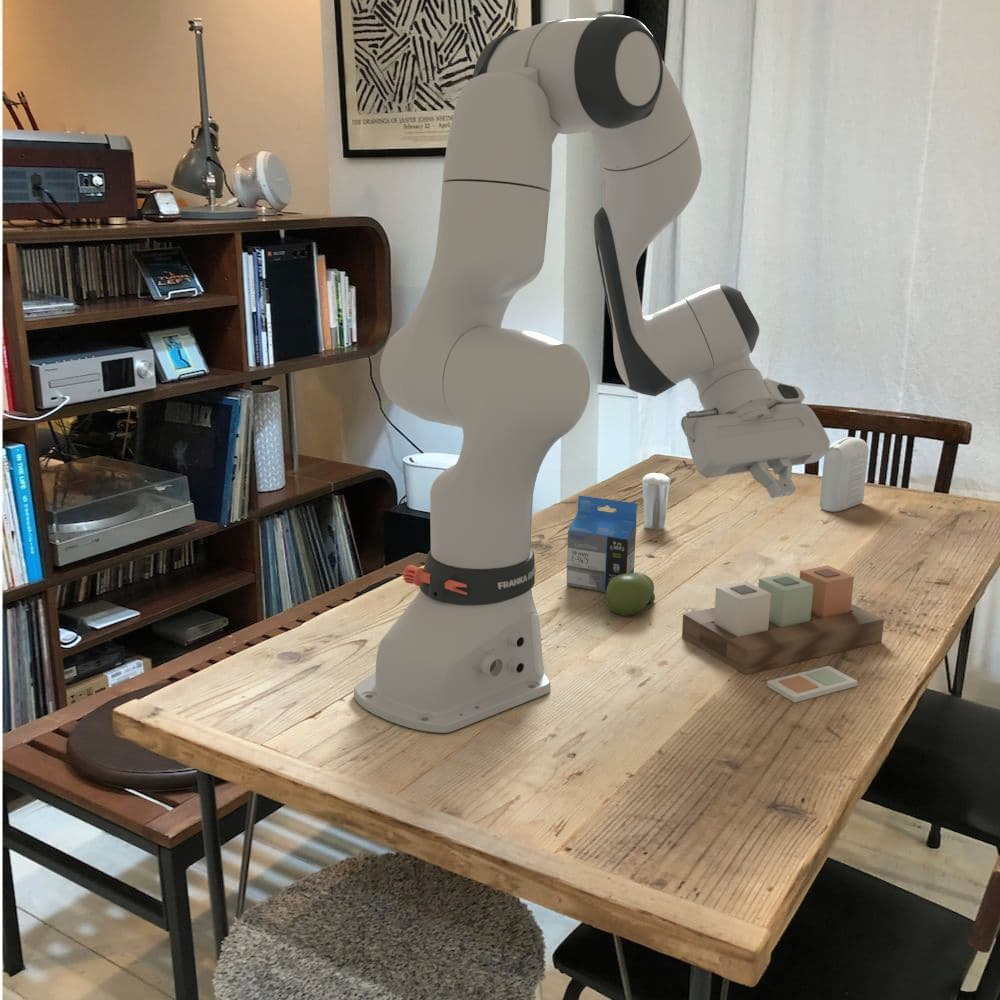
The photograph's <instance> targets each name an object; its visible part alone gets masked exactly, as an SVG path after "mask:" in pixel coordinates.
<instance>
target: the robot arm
mask: <svg viewBox="0 0 1000 1000" xmlns="http://www.w3.org/2000/svg"><path fill="white" fill-rule="evenodd" d="M456 100H457V101H456V103H455V106H454V112H453V115H452V120H451V124H450V127H449V133H448V138H447V143H446V149H445V156H444V163H443V172H442V186H441V197H440V210H439V221H438V227H437V228H438V229H437V238H436V239H437V240H436V245H435V246H436V247H435V254H434V260H433V263H432V269H431V272H430V273H429V278H428V281H427V284H426V286H425V289H424V292H423V294H422V296H421V298H420V301H419V302H418V304H417V306H416V308H415V309H414V311H413V313H412V315H411V317H409V319H408V321H407V322H406V323H405V324H404V325H403V326H402V327H401V328H399V329H398V330H397V331H396V332H395V333H393V335H392V336H391V337H390V338H389V340H388V341H387V342H386V345H385V346H384V348H383V352H382V354H381V358H380V363H379V364H380V365H379V376H380V381H381V385H382V389H383V391H384V393H385V395H386V397H387V398H388V399H389V401H391V402H392V403H393V404H394V405H396V406H397V407H398V408H400V409H402V410H404V411H407V412H408V413H409V414H412V415H414V416H415V417H418V418H419V419H421V420H425V421H427V422H432V423H438V424H440V425H441V424H443V425H446V426H447V425H448V426H452V427H458V428H461V429H462V433H463V440H462V445H461V449H460V452H459V457H458V460H457V462H456V463H455V464H453V465H451V466H450V467H448V468H446V469H445V470H443V471H442V472H441V473H440V474H439V475H438V476H437V477H436V478H435V480H434V481H433V483H432V485H431V487H430V492H429V503H430V504H429V508H430V509H429V510H430V513H429V514H430V515H429V516H430V517H429V518H430V519H429V521H430V523H429V524H430V550H429V551H428V552H427V555H426V559H425V562H424V567H418V566H416V565H413V564H408V565H407V566H405V568H404V570H403V571H402V574H403V575H402V579H403V581H404V583H406V584H411V585H412V584H414V585H415V586H416V587H419V589H420V590H419V591H418V593H417V594H416V596H415V597H414V598H413V600H412V601H411V602H410V603H409V604H408V605H407V606H406V608H405V610H404V611H403V612H402V613H401V615H400V616H399V618H398V619H397V620H396V621H395V622H394V624H393V625H392V626H391V627H390V629H388V631H387V632H386V634H385V635H384V636H383V637H382V639H381V640H380V642H379V645H378V648H377V652H376V653H377V654H376V659H375V660H376V661H375V671H374V672H373V673H372V674H370V675H369V676H367V677H366V678H364V679H363V680H362V681H360V682H359V683H358V684H357V685H355V686H354V687H353V697H354V699H355V701H356V702H357V704H359V705H360V706H361V707H362V708H364V709H365V710H366V711H368V712H369V713H371V714H373V715H374V716H377V717H380V718H381V719H384V720H385V721H388V722H391V723H394V724H396V725H398V726H403V727H405V728H410V729H413V730H415V731H416V730H418V731H423V732H430V733H445V734H447V733H450V732H454V731H457V730H460V729H461V728H464V727H466V726H469V725H471V724H475V723H478V722H479V721H482V720H484V719H487V718H489V717H492V716H494V715H497V714H500V713H502V712H505V711H507V710H509V709H511V708H512V709H513V708H515V707H517V706H520V705H522V704H525V703H526V702H529V701H532V700H534V699H537V698H539V697H542V696H544V695H547V694H549V693H550V691H551V690H552V689H551V681H550V678H549V677H548V675H547V674H545V667H544V659H543V647H542V646H543V645H542V635H541V626H540V625H541V623H540V617H539V614H538V612H537V611H538V610H537V609H536V605H535V602H534V598H533V593H532V592H533V591H532V588H533V587H534V585H535V581H536V580H535V579H536V577H535V575H536V570H537V569H536V567H537V566H536V564H535V562H536V561H535V552H534V551H533V549H531V548H532V521H533V502H534V492H535V486H536V481H537V478H538V474H539V472H540V468H541V466H542V464H543V461H544V460H545V458H546V456H547V455H548V452H549V451H550V450H551V448H553V446H554V445H555V443H556V442H557V441H558V440H559V439H561V438H562V437H564V436H566V434H569V432H571V430H573V429H574V427H575V426H577V424H578V423H579V421H580V420H581V418H582V417H583V415H584V413H585V411H586V409H587V406H588V402H589V397H590V387H591V385H590V384H591V383H590V375H589V371H588V368H587V367H588V366H587V364H586V362H585V360H584V358H583V356H582V355H581V353H580V352H579V351H578V349H576V348H575V347H574V346H572V345H570V344H569V343H565V342H563V341H561V340H558V339H556V338H555V337H551V336H548V335H546V334H543V333H541V332H540V333H539V332H537V331H532V330H531V331H530V330H522V329H513V328H502V322H503V320H504V317H505V314H506V311H507V308H508V306H509V305H510V302H511V301H512V299H513V298H514V296H515V295H516V294H517V292H519V291H520V290H521V289H523V288H524V287H526V286H527V285H529V284H530V283H531V282H533V281H534V280H535V279H536V278H537V277H538V275H539V274H540V272H541V271H542V268H543V266H544V262H545V253H546V243H547V232H548V223H549V222H548V221H549V211H550V200H551V190H552V189H551V188H552V174H553V171H552V170H553V145H554V142H555V140H556V138H557V136H558V134H561V135H573V134H580V133H587V132H590V133H591V138H592V141H593V144H594V147H595V151H596V153H597V155H598V160H599V162H600V165H601V167H602V170H603V175H604V183H605V187H604V188H605V189H604V196H603V202H602V205H601V206H600V207H599V209H598V210H597V212H596V213H595V215H594V219H593V220H594V221H593V232H594V233H593V234H594V241H595V242H594V243H595V247H596V249H595V250H596V255H597V259H598V265H599V271H600V275H601V281H602V287H603V292H604V297H605V302H606V306H607V311H608V312H607V313H608V316H609V321H610V328H611V336H612V343H613V345H612V346H613V349H612V350H613V358H614V363H615V366H616V367H615V368H616V369H617V372H618V374H619V377H620V379H621V380H622V382H623V383H624V384H625V385H626V386H627V388H628V389H629V391H632V392H635V393H638V394H641V395H645V396H651V397H657V396H658V395H661V394H662V393H664V392H666V391H667V390H669V389H671V388H673V387H675V386H676V385H677V384H679V383H681V382H683V381H685V380H688V379H689V380H690V382H691V383H692V384H693V385H694V386H695V387H696V389H697V391H698V392H697V393H698V398H699V403H700V404H701V406H702V408H703V410H699V411H698V410H692V411H688V412H686V413H685V415H683V417H682V418H681V421H680V426H681V429H682V431H683V433H684V436H685V437H686V439H687V445H688V449H689V452H690V455H691V458H692V461H693V463H694V466H695V469H696V471H697V472H698V473H699V474H700V475H701V476H702V477H704V478H706V479H709V478H715V477H716V478H717V477H724V476H730V475H738V474H743V473H750V474H751V476H752V479H754V480H755V481H757V483H758V484H760V485H761V486H763V487H764V488H765V489H766V491H767V492H768V494H769V496H770V498H771V499H776V498H780V497H788V496H791V495H793V494H794V493H795V492H796V486H795V484H794V482H793V480H792V471H793V466H800V465H801V466H802V465H808V464H813V463H815V464H816V463H817V462H819V461H820V459H822V458H823V457H824V455H825V454H826V453H827V452H828V451H829V447H830V446H831V441H830V439H829V436H828V434H827V432H826V430H825V429H824V427H823V425H822V424H821V422H820V419H819V418H818V417H817V415H816V413H815V411H814V410H812V408H810V406H809V405H807V404H805V403H803V401H804V400H805V397H806V396H805V394H804V392H803V390H802V389H801V388H800V387H798V386H796V385H792V384H787V383H782V382H778V381H775V380H773V379H770V378H766V377H764V376H763V374H762V372H761V371H760V370H759V369H758V368H757V367H756V366H755V365H754V363H753V362H752V361H751V357H750V354H752V352H753V351H754V350H755V347H756V343H757V341H758V339H759V336H760V326H759V323H758V322H757V320H756V317H755V316H754V314H753V312H752V311H751V309H750V306H749V305H748V304H747V301H746V300H745V298H744V296H743V293H742V291H740V290H738V289H736V288H734V287H731V286H729V285H727V284H723V283H722V284H721V283H718V284H715V285H712V286H708V287H707V288H706V287H705V288H704V289H702V290H699V291H698V292H696V293H692V294H691V295H688V296H687V297H685V298H683V299H682V300H679V301H678V302H675V303H673V304H670V305H669V306H667V307H664V308H662V309H659V310H658V311H655V312H653V313H651V314H647V315H644V314H643V310H642V303H641V299H640V291H639V287H638V280H637V273H636V272H637V265H638V262H639V260H640V258H641V256H642V255H643V253H644V252H645V250H646V249H647V248H648V247H649V246H650V244H651V243H652V242H653V241H654V240H655V239H656V238H657V236H658V235H660V234H661V232H662V231H663V230H664V229H665V228H666V227H668V226H669V225H670V224H671V223H672V222H673V221H674V220H675V219H677V218H678V217H679V216H680V215H681V214H682V213H683V211H684V210H685V209H686V207H687V206H688V205H689V204H690V202H691V200H692V198H693V197H694V195H695V193H696V191H697V189H698V186H699V183H700V180H701V175H702V160H701V156H700V155H701V154H700V149H699V146H698V141H697V137H696V134H695V131H694V130H695V129H694V128H693V125H692V121H691V118H690V116H689V113H688V110H687V107H686V106H685V103H684V100H683V97H682V96H681V93H680V91H679V89H678V86H677V84H676V82H675V80H674V78H673V76H672V75H671V72H670V71H669V69H668V67H667V65H666V64H665V62H664V60H663V58H662V53H661V50H660V46H659V44H658V42H657V41H656V39H655V37H654V35H653V34H652V33H651V31H650V30H649V29H648V28H647V26H646V25H645V24H643V22H641V20H638V19H636V18H635V17H630V16H626V15H621V14H602V15H600V16H597V17H595V18H594V17H591V18H590V17H589V18H587V17H585V18H576V19H575V18H574V19H554V20H550V21H546V22H542V23H538V24H534V25H531V26H528V27H525V28H523V29H512V30H509V31H507V32H505V33H502V34H501V35H498V36H497V37H495V38H494V39H493V40H491V41H490V42H488V43H487V44H486V46H485V47H484V48H483V49H482V51H480V54H479V56H478V57H477V61H476V62H475V66H474V69H473V73H472V78H471V79H469V80H468V81H467V82H466V83H465V84H464V86H463V87H462V88H461V89H460V92H459V94H458V97H457V99H456ZM770 469H771V470H772V471H773V473H774V474H775V475H778V478H776V477H775V476H774V475H773V474H772V473H771V472H770V471H769V470H770Z"/></svg>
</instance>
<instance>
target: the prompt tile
mask: <svg viewBox="0 0 1000 1000" xmlns="http://www.w3.org/2000/svg"><path fill="white" fill-rule="evenodd" d="M857 686H858V680H856V679H854V678H852V677H851V676H849V675H848V674H845V673H843V672H841V671H840V670H838V669H835V668H834V667H832V666H830V665H826V666H823V667H818V668H814V669H811V670H807V671H802V672H798V673H795V674H789V675H787V676H781V677H778V678H774V679H771V680H767V681H766V687H768V688H770V689H771V690H772V691H774V692H776V693H778V694H779V695H781V696H783V697H784V698H786V699H787V700H790V702H793V703H798V702H802V701H806V700H810V699H813V698H816V697H820V696H824V695H827V694H833V693H835V692H839V691H843V690H846V689H847V690H848V689H850V688H854V687H857Z"/></svg>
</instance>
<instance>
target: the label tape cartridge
mask: <svg viewBox="0 0 1000 1000" xmlns="http://www.w3.org/2000/svg"><path fill="white" fill-rule="evenodd" d="M577 497H578V498H577V499H578V500H577V502H578V503H577V513H575V516H574V518H573V520H572V522H571V525H570V526H569V528H568V530H567V548H566V550H567V551H566V552H567V553H566V556H567V557H566V586H567V587H573V588H577V589H578V588H579V589H584V590H590V591H596V592H600V593H601V592H602V593H606V589H607V586H608V584H609V582H610V581H611V580H612V579H613V578H614V577H615V576H617V575H620V574H624V573H635V562H636V561H635V560H636V559H635V557H636V556H635V555H636V537H637V513H638V512H637V511H638V503H637V502H632V501H631V502H630V501H623V500H616V499H615V500H614V499H608V498H601V497H600V498H599V497H595V496H594V497H591V496H587V495H586V496H585V495H578V496H577ZM606 506H608V507H609V508H610V509H615V510H616V511H615V512H611V511H610V512H609V511H605V510H598V508H600V507H602V508H605V507H606Z"/></svg>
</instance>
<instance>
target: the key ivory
mask: <svg viewBox="0 0 1000 1000" xmlns="http://www.w3.org/2000/svg"><path fill="white" fill-rule="evenodd" d="M770 601H771V593H769V592H767V591H765V590H763V589H761V588H759V587H758V586H756V585H755V584H753V583H750V582H749V581H740V582H735V583H729V584H726V585H721V586H720V585H719V586H716V587H715V599H714V608H715V611H714V624H715V625H717V626H719V627H720V628H722V629H724V630H726V631H728V632H729V633H731V634H733V635H735V636H736V637H740V636H745V635H749V634H754V633H758V632H763V631H767V630H768V625H769V613H770Z"/></svg>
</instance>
